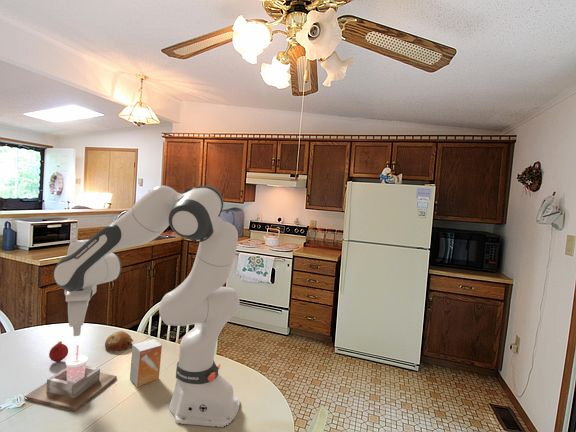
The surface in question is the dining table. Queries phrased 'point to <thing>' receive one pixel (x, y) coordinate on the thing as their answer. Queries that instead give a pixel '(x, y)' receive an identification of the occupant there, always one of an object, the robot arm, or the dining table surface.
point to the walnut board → (71, 389)
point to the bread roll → (118, 341)
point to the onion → (58, 352)
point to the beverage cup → (76, 367)
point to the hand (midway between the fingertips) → (78, 329)
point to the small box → (145, 362)
